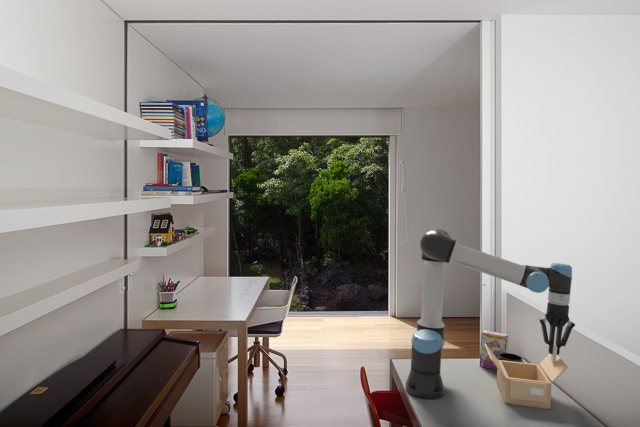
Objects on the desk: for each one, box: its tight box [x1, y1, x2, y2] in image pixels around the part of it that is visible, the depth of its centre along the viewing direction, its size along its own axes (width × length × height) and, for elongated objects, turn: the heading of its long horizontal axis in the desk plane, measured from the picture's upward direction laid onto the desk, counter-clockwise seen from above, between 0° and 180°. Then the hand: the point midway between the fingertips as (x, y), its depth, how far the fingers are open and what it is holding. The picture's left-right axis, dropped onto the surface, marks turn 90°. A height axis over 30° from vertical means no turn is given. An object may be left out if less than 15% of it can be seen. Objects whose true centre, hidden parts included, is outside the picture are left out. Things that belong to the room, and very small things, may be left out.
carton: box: [496, 360, 553, 410], centre depth 180 cm, size 16×22×10 cm
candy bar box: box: [479, 329, 509, 371], centre depth 209 cm, size 11×5×16 cm, turn 58°
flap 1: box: [485, 343, 505, 376], centre depth 182 cm, size 8×19×1 cm
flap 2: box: [539, 352, 569, 383], centre depth 177 cm, size 8×19×1 cm
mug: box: [499, 352, 525, 363], centre depth 199 cm, size 9×12×9 cm
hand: (553, 362), depth 177 cm, fingers closed
